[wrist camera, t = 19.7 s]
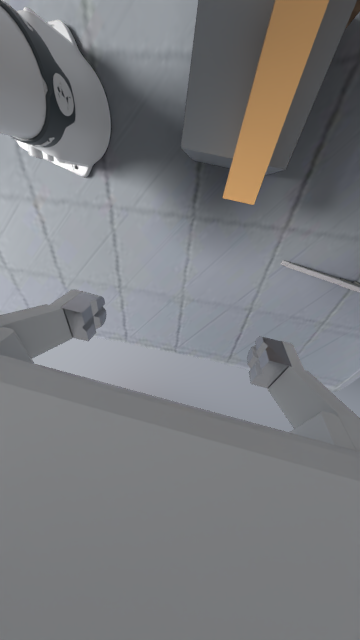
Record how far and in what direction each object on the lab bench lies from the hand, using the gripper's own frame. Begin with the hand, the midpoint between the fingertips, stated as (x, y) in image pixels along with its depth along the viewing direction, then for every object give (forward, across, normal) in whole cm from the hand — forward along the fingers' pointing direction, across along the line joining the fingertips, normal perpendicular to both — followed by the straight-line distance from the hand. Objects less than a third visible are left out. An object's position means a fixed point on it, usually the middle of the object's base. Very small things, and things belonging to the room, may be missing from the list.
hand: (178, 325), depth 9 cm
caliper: (+40, -30, +6) cm, 50 cm away
